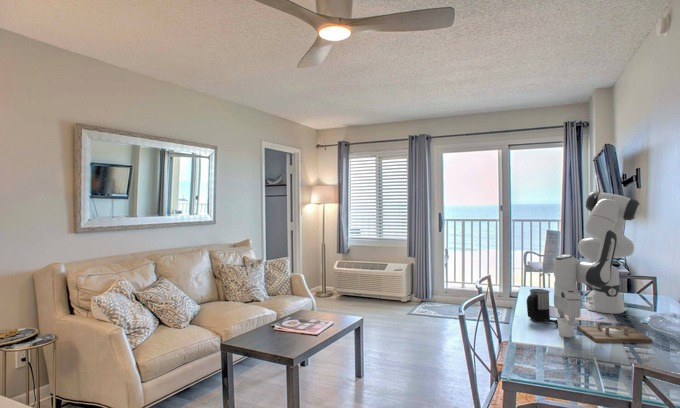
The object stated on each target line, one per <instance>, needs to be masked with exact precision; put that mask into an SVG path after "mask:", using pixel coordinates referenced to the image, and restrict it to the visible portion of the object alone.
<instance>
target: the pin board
mask: <svg viewBox="0 0 680 408" xmlns="http://www.w3.org/2000/svg"><path fill="white" fill-rule="evenodd" d="M576 330H578V331H579V332H581V333H582V334H583V335H584V336H586V337H587V338H589V339H590V340H591V341H592V342H594V343H626V344H627V343H632V344H633V343H634V344H638V343H641V344H643V343H644V344H652V343H653V339H652V337H649V336H647V335H646V334H644V333H642V332H640V331H639V330H637V329H635V328H634V327H632V326H629V325H620V322H617V321H616V322H615V323H614V325H602V322H599V321H597V325H576Z"/></svg>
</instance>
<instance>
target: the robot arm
mask: <svg viewBox="0 0 680 408" xmlns="http://www.w3.org/2000/svg"><path fill="white" fill-rule="evenodd" d="M640 204H641V203H640V202H639V201H638V200H637V199H635V198H632V197H631V198H630V197H628V196H627V197H626V196H624V195H620V194H615V193H609V192H602V191H599V190H597V191H596V190H594V191H592V192H590V193H589V194H588V195H587V197H586V199H585V208H586V209H587V211H589V212H590V213H589V215H588V218H587V220H586V222H585V226H584V227H585V231H586V233H587V234H588V235H589V237H585V238H582V239H580V240H579V242H578V246H577V250H578V252H579V254H580V255H581V256H582V257H583V258H585V259H587V261H585V260H584V261H582V260H580V259H578V258H576V257H575V256H574V255H573V254H569V253H565V254H559V255H557V256H555V259H554V260H553V261H554V262H553V276H554V284H553V285H554V286H553V289H554V294H553V306H554V308H556V309H557V311H558V315H559V318H566V316H568V318H569V321H568V325H569V326H574V327H575V322H574V321H575V320H576V319H578V318H580V317H581V311H582V310H581V306H582V305H583V306H584V307H585V308H586V309H587V311H590V312H591V311H592V312H597V313H602V314H612V315H613V314H623V313H624V312H627V311H628V308H627V307H625V301H624V295H623V294H622V293H621V284H620V275H619V274H620V273H619V270H618V268H617V267H616V266H614V265H613V261H614V259H621V258H626V257H627V258H629V257H630V256H632V255H633V253H634V251H635V245H634V243H633V241H632V240H631V239H629V238H628V237H626V235H625V234H624V227H625V224H626V221H632V220H634V219H635V218H637V216H638V215H639V214H640V211H641V205H640ZM577 283H581V284H585V285H590V286H591V287H592V290H591V291H590V292H589V293H588V294H587V295H586V296H585V299H586V301H584V302H583V301H582V305H581V300H582V294H581V293H580V292H579V289H578V286H577ZM565 315H566V316H565Z"/></svg>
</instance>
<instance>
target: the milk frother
mask: <svg viewBox="0 0 680 408" xmlns="http://www.w3.org/2000/svg"><path fill="white" fill-rule="evenodd" d="M529 292H530V294H529V295H528V296H527V298H526V309H527V317H528V318H529V319H530V320H531V321H534V322H537V323H538V322H539V323H554V324H555V325H556V326H558V322H557V319H551V316H550V290H548V289H544V288H543V289H542V288H532V289H529Z"/></svg>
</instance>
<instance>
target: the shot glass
mask: <svg viewBox="0 0 680 408" xmlns="http://www.w3.org/2000/svg"><path fill="white" fill-rule="evenodd" d="M556 320H557V322H558V325H557V327H558V335H559V336H561V337H564V338H573V337H574V334H575V333H574V331H575V325H574V326H569V325H568V321H569V317H565V318H560V317H558V318H556ZM574 323H575V321H574Z"/></svg>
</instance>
